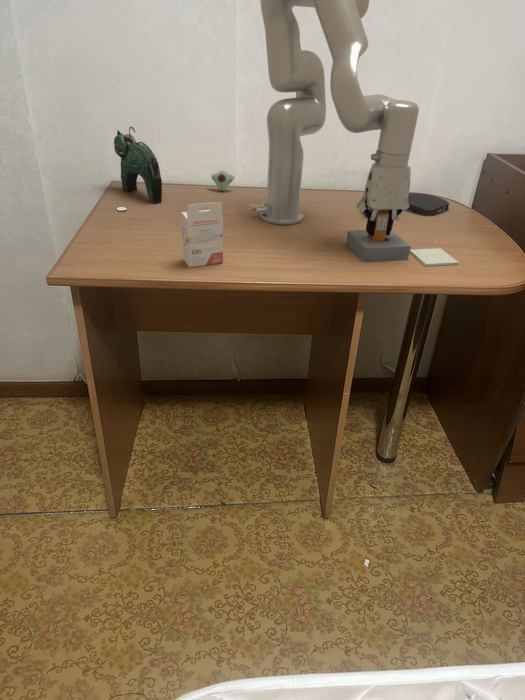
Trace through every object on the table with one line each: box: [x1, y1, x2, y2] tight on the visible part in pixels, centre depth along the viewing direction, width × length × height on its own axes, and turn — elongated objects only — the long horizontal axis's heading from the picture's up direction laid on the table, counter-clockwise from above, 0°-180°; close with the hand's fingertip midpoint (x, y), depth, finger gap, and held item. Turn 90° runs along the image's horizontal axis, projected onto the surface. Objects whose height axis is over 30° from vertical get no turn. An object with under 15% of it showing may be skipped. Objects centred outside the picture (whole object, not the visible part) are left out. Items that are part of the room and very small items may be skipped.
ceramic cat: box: [113, 126, 163, 205], centre depth 157 cm, size 20×6×20 cm, turn 43°
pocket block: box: [345, 229, 412, 263], centre depth 132 cm, size 12×12×4 cm
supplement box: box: [370, 210, 389, 242], centre depth 131 cm, size 3×3×10 cm
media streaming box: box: [404, 192, 450, 217], centre depth 166 cm, size 15×15×3 cm
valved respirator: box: [210, 169, 236, 192], centre depth 168 cm, size 8×4×7 cm, turn 85°
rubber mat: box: [409, 247, 460, 267], centre depth 131 cm, size 9×9×1 cm
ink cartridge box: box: [180, 201, 224, 268], centre depth 119 cm, size 9×5×15 cm, turn 114°
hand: (378, 233), depth 131 cm, fingers closed on supplement box, 3 cm apart
